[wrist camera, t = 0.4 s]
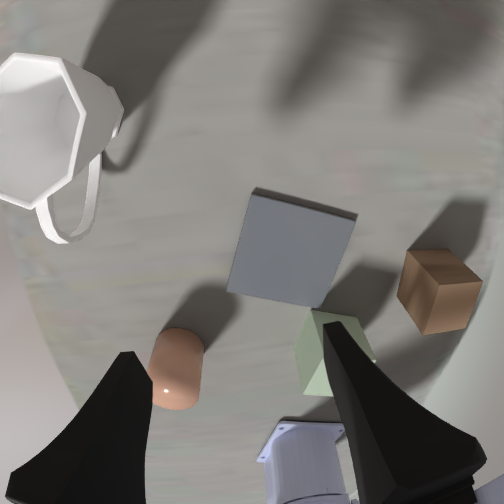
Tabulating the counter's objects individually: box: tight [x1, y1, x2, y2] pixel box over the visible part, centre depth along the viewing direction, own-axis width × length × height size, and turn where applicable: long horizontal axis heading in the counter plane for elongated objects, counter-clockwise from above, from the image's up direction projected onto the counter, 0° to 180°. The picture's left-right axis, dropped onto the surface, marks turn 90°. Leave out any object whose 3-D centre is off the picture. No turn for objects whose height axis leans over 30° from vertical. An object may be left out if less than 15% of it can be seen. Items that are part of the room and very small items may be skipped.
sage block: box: [294, 310, 376, 397], centre depth 23 cm, size 4×4×5 cm
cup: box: [0, 52, 125, 244], centre depth 14 cm, size 7×10×8 cm
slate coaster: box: [226, 193, 356, 309], centre depth 22 cm, size 7×7×1 cm
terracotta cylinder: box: [147, 328, 204, 410], centre depth 23 cm, size 4×4×5 cm
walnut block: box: [397, 249, 483, 335], centre depth 21 cm, size 4×4×5 cm
